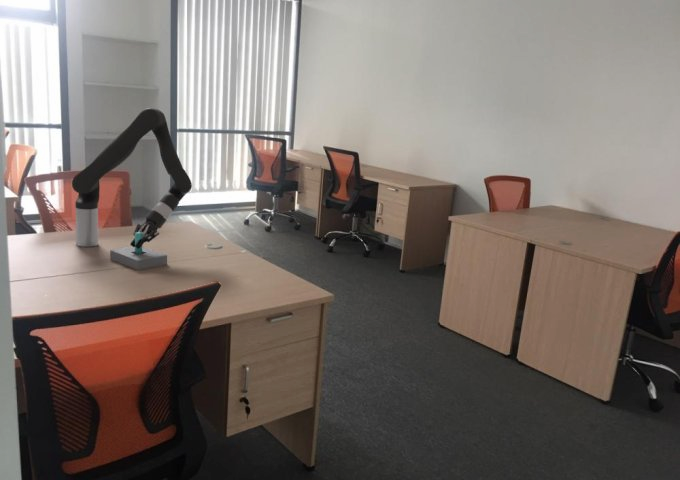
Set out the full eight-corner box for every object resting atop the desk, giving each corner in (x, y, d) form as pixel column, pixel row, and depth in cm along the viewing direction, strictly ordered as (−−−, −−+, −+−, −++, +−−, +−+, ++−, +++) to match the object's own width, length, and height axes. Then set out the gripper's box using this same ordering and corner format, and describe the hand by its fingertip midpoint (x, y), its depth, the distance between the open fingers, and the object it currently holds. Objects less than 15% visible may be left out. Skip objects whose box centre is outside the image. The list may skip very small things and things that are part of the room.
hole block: (110, 259, 249) (110, 250, 248) (139, 254, 260) (139, 245, 259) (137, 270, 238) (137, 260, 237) (167, 264, 248) (167, 255, 247)
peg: (133, 255, 248) (133, 232, 246) (139, 254, 250) (139, 231, 248) (137, 257, 246) (137, 234, 244) (143, 256, 249) (143, 233, 246)
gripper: (144, 206, 254) (118, 238, 247) (164, 212, 245) (138, 245, 239) (154, 217, 259) (130, 248, 252) (174, 223, 251) (149, 255, 244)
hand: (134, 246), depth 246 cm, fingers closed on peg, 2 cm apart
